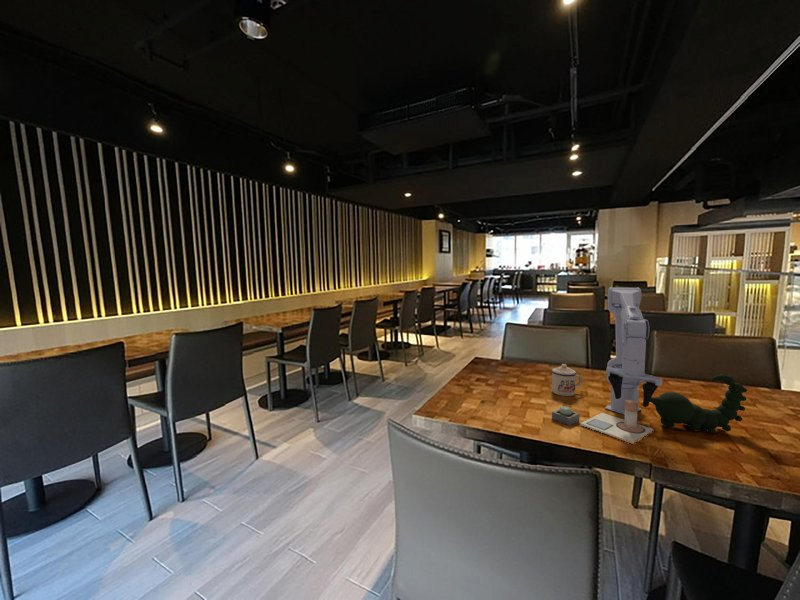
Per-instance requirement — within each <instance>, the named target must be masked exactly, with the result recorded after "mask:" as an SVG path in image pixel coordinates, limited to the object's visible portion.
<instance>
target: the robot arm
mask: <svg viewBox="0 0 800 600" xmlns="http://www.w3.org/2000/svg"><path fill="white" fill-rule="evenodd" d="M641 302H642V289H641V288H640V287H611V286H610V287H609V288H608V290H607V309H608V311H609V312H610V313H613V316H614V319H615V320H614V321H615V325H614V326H615V357H613V358H612V359H610V360H608V362H607V363H606V364H607V367H606V370H605V372H606V373H605V374H606V381H607V383H609V384H610V401H609V403H610V404H609V405H607V406H605V407H604V409H605V410H608V411H612V412H616V413H619V414H622V415H624V416H625V401H626V400H631V401H635V402H638V403H639V399H640V390H639V389H638V387H640V386H641V384H642V382H643V384H642V390H643V391H642V392H643V401H642V406H643V408H647V407H649V405H650V403H651V402H650V399H651V397H653V395H654V393H655V391H656V390H657V389H658V387H660V386H662V385H663V378H661V377H658V376H654V375H651V374H647V373H645V370H646V367H645V366H646V349H647V340H648V339H649V336H650V324H649V320H648V319H645V318H644V316H643V313H642V311H641V308H640V305H641ZM641 410H642V408H641V407H638V412H639V411H641Z"/></svg>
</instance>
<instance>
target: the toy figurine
mask: <svg viewBox="0 0 800 600" xmlns="http://www.w3.org/2000/svg"><path fill="white" fill-rule="evenodd" d="M710 381H711V382H712V383H713V382H716V381H717V382H718V381H721V382H722V383H724V384H725V385H727V388H728V389H727V390H726V391H725V393H724V396H725V397H724V398H723V399H722V401H721V404H720V405H718V406H717V407H716V409H709V408H702V407H701V406H700V405H697V404H694V403H692V402H691V400H690V399H689V398H688V397H686V396H685V395H683V394H682V393H678V392H675V391H674V392H673V391H669V392H668V391H667V392H664V393H662V394H659V396H657V397H656V396H655V397H653V396H652V397H651V399H650V402H649V403H651V404H653V406H654V407H655V410H656V412H657V414H658V416H660V419H659V420H660V423H661V424H662V425H663V426H664V427H666V428H667V427H668V429H672V428H674V427H675V425H676V424H679V425H680V424H681V425H682V424H684V425H687V426H688V427H689V429H690V430H691V431H693V432H699V431H701V429H704V430H706V431H707V432H708V433H709V432H710V433H709V434H711V433H714V434H716V432H717V430H716V429H717V428H721V429H722V430H723V431H725V432H731V430H732V427H731V426H730V425H729V423H730V421H734V420H735V421H737V422H742V421H743V417H742V415H738V411H741V412H743V411H745V410H746V407H745V406H743V405H741V402H744V401H745V402H746V401H747V397H746V396H744V394H743V393H747V392H748V389H747V388H746V387H745V386H743V385H742V384H741V383H738V382H735V379H734V378H733V377H732V376H730V375H728V374H717V375H714V376H713V377H711V379H710Z"/></svg>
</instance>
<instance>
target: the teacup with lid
mask: <svg viewBox="0 0 800 600" xmlns="http://www.w3.org/2000/svg"><path fill="white" fill-rule="evenodd" d="M576 378H578V379H579V381H578V382H577V383H576ZM582 382H583V378H582V376H581V375H579V374H577V372H576V371H575V370H574V369H572V368H570V367H568V366H567V364H566V363H562V364H561V365H559V366H558V367H554V368H552V369H551V392H552V393H553V394H555V395H559V396H562V397H571V396H575V394H576V388H578V387H579V386H581V385H582Z"/></svg>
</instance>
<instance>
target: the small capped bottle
mask: <svg viewBox="0 0 800 600" xmlns="http://www.w3.org/2000/svg"><path fill="white" fill-rule="evenodd" d="M638 408H639V402H635V401H631V400H626V401H625V415H624V419H623V420H624V427H626V428H628V429H632V430H635V429H637V424H638V412H639V411H638Z"/></svg>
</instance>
